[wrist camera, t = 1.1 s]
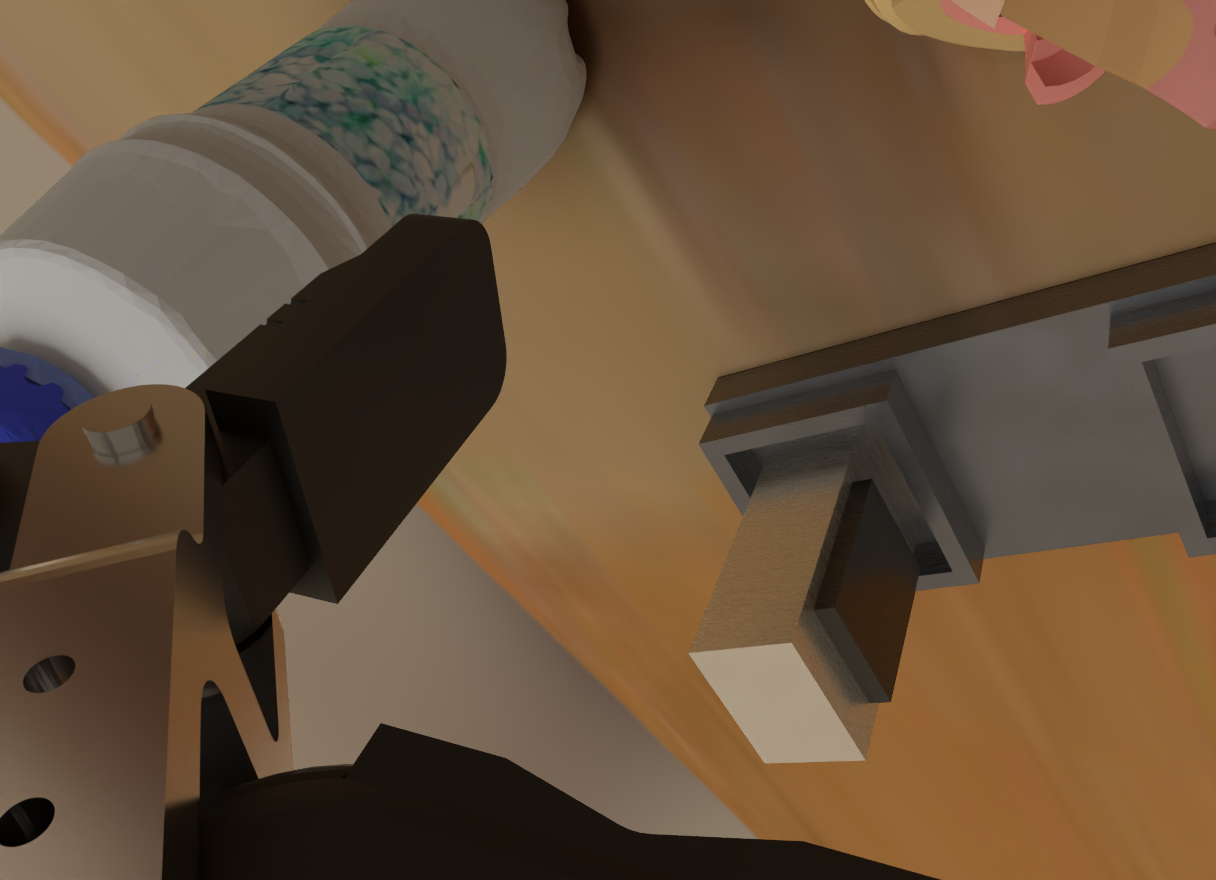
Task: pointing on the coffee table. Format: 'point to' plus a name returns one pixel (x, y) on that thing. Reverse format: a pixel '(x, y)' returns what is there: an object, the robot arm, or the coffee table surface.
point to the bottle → (273, 192)
